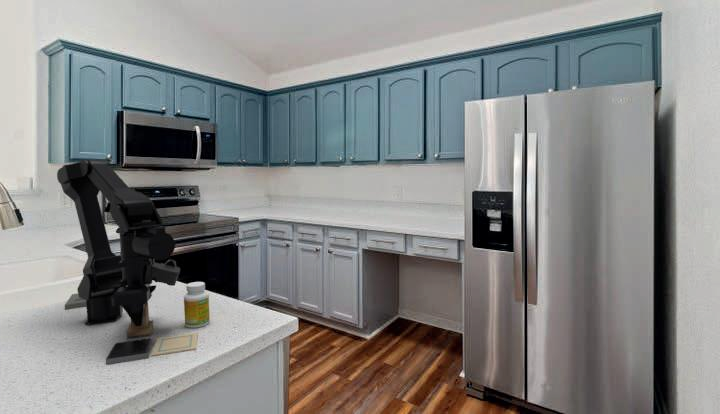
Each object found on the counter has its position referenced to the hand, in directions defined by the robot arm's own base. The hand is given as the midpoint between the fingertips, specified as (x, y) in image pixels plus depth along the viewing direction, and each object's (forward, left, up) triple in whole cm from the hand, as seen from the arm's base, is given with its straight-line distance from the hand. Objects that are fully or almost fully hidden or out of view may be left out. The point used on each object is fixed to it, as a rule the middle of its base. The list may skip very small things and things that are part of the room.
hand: (140, 323), depth 84 cm
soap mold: (-12, +30, -3) cm, 33 cm away
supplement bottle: (+12, +1, -3) cm, 12 cm away
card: (+8, -9, -2) cm, 12 cm away
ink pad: (0, -10, -2) cm, 10 cm away
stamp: (0, 0, -2) cm, 2 cm away
